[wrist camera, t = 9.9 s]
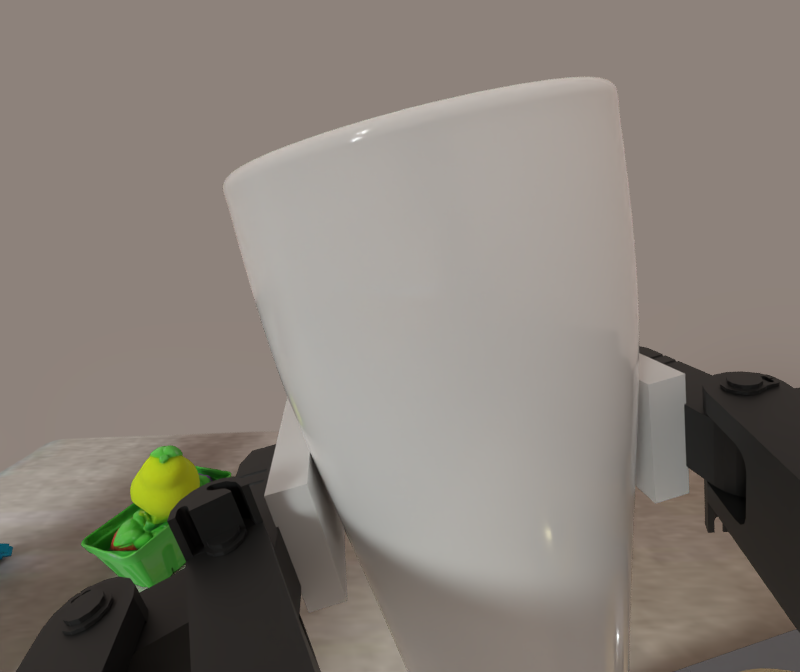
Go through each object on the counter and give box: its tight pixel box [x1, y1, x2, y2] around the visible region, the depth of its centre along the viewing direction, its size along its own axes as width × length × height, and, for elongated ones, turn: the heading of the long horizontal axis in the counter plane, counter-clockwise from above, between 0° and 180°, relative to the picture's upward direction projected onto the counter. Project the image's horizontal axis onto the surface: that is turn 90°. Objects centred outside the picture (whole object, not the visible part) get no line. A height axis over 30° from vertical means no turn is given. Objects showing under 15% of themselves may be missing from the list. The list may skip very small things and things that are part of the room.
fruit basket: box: [81, 446, 231, 588], centre depth 40 cm, size 11×9×11 cm
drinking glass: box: [223, 77, 639, 672], centre depth 10 cm, size 7×7×15 cm
